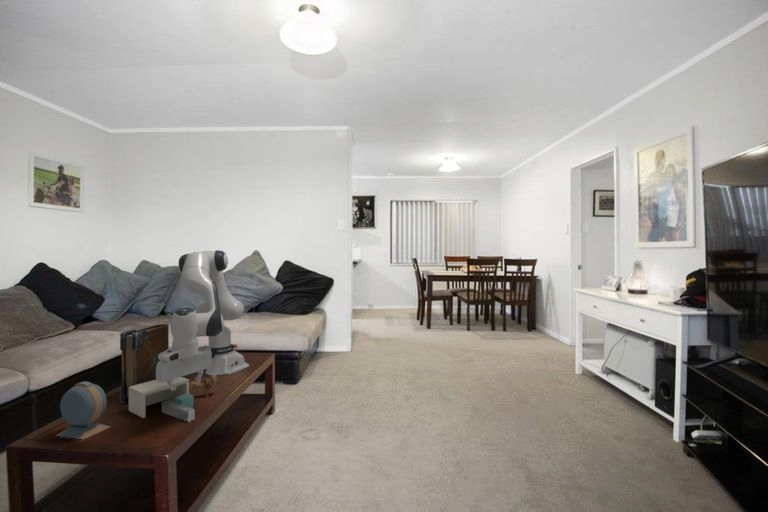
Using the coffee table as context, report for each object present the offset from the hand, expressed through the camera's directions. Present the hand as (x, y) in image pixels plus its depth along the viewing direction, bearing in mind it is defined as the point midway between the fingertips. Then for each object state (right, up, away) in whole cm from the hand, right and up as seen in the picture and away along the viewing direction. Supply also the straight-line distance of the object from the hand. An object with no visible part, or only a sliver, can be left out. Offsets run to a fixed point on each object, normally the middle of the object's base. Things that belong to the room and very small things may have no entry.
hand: (185, 385), depth 139 cm
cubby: (-17, -12, +10) cm, 23 cm away
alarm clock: (-31, -13, -11) cm, 35 cm away
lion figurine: (-6, -13, +22) cm, 26 cm away
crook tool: (-3, -12, +4) cm, 13 cm away
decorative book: (-32, -13, +26) cm, 43 cm away
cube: (-6, -13, +9) cm, 16 cm away
